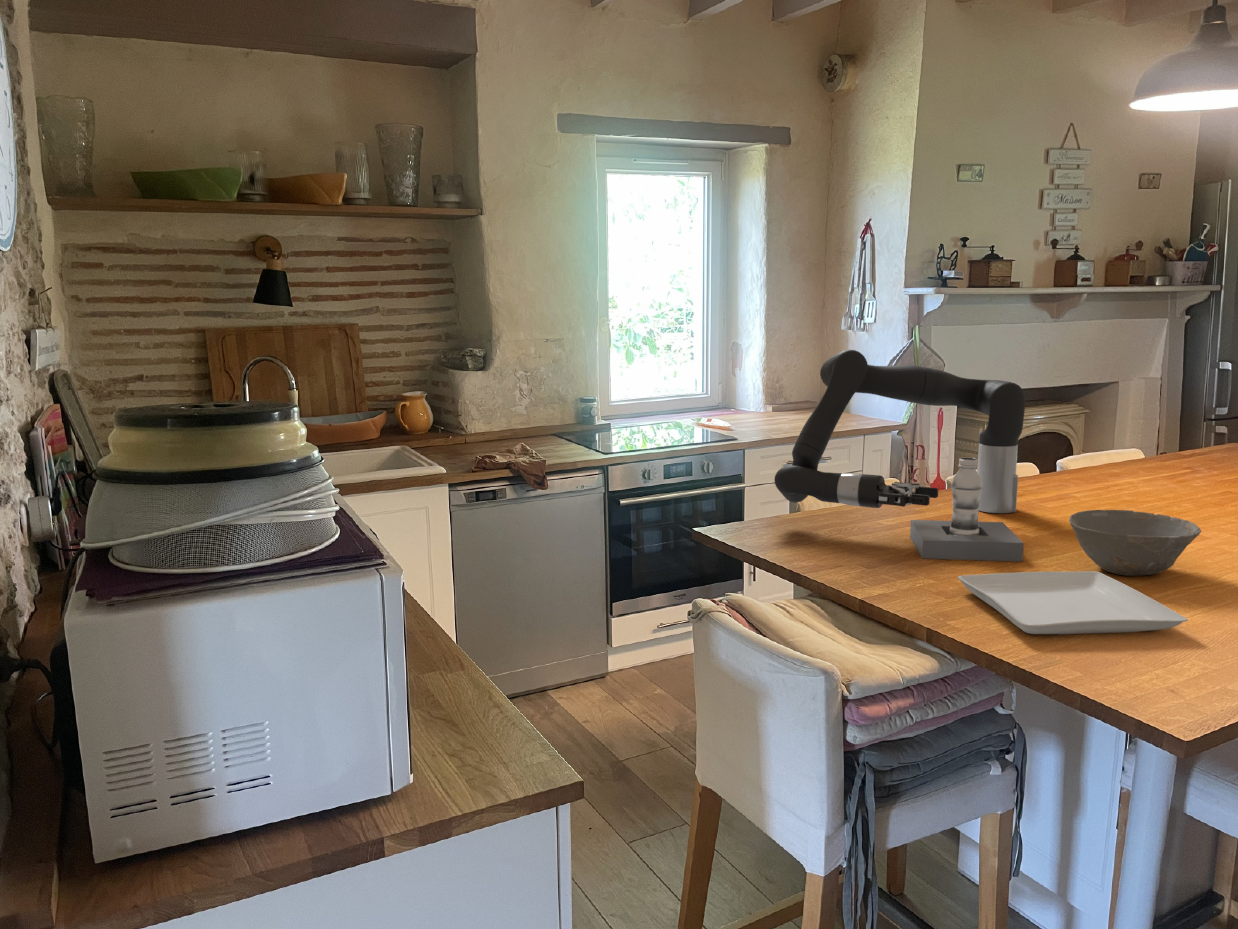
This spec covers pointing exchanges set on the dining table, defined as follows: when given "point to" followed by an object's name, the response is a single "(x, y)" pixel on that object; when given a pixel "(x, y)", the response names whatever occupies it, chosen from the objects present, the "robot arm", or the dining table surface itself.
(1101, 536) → the ceramic bowl
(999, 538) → the socket block
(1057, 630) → the square plate
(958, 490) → the plastic bottle
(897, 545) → the dining table surface
